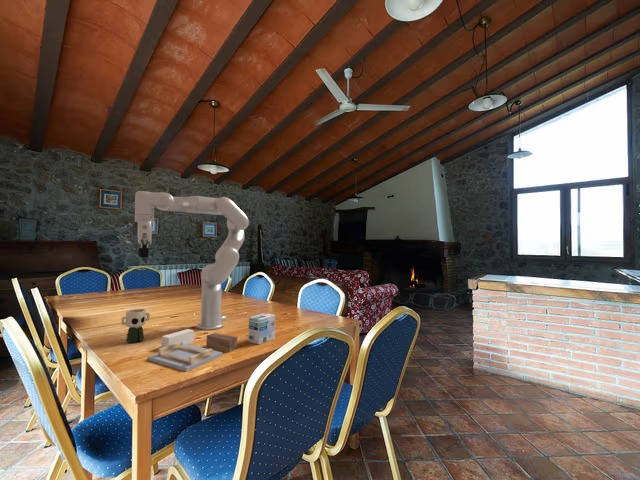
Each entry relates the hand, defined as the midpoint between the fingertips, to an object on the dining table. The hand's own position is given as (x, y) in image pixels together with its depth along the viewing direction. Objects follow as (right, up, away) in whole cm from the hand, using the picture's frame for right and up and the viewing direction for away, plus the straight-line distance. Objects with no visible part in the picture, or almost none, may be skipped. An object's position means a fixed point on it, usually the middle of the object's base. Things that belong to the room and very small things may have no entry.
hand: (143, 256), depth 132 cm
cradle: (+31, -35, -25) cm, 53 cm away
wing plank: (+21, -36, -10) cm, 43 cm away
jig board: (+30, -36, -24) cm, 53 cm away
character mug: (+1, -36, -8) cm, 36 cm away
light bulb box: (+54, -37, -2) cm, 65 cm away
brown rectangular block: (+40, -37, -13) cm, 55 cm away
